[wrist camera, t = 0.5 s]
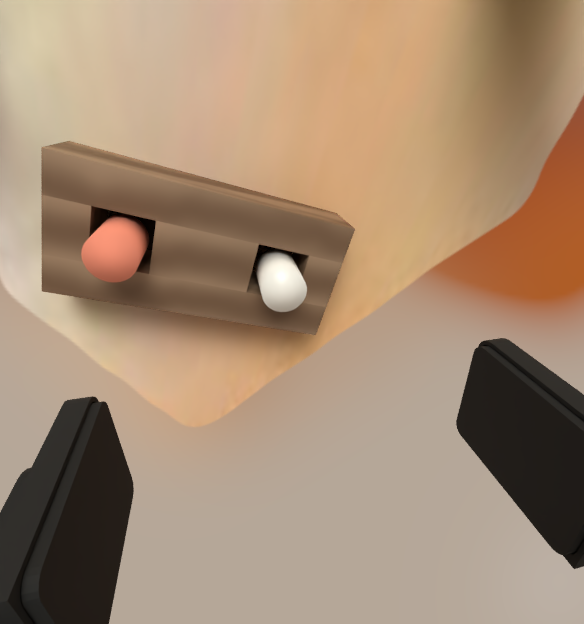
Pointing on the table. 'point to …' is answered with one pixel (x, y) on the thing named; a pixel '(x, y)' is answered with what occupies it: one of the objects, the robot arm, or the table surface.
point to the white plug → (280, 281)
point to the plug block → (184, 239)
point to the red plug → (116, 248)
